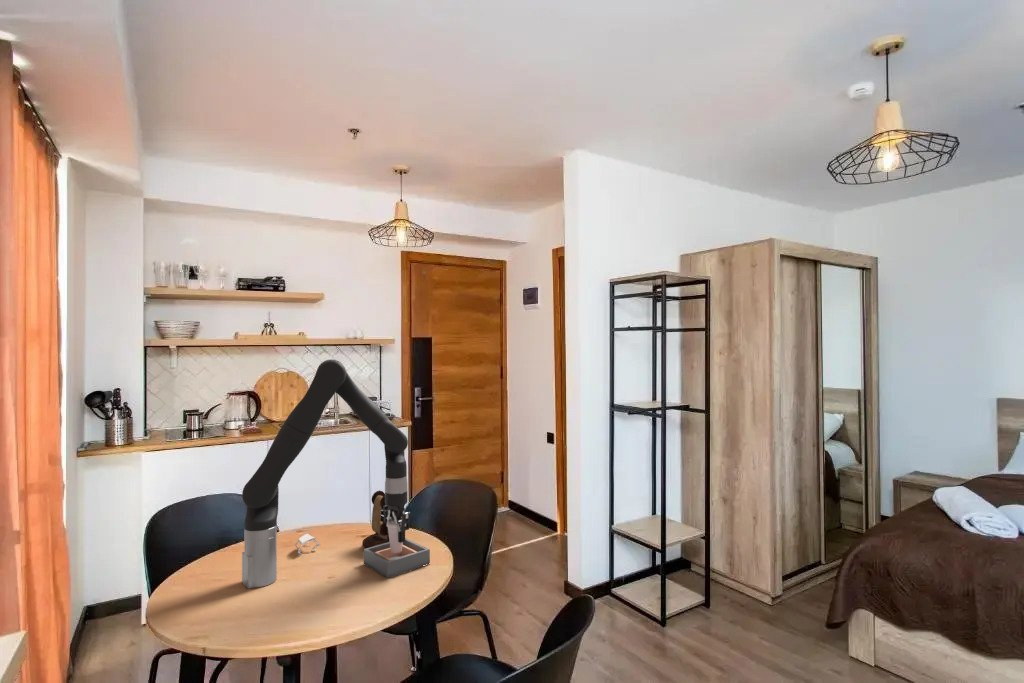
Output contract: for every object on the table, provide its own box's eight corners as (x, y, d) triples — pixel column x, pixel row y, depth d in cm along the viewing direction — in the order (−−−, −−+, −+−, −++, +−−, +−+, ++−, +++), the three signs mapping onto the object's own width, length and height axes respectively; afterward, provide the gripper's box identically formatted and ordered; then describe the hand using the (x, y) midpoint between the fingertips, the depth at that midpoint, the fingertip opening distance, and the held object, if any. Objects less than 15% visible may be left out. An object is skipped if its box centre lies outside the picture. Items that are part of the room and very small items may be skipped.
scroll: (355, 546, 196) (355, 492, 196) (390, 536, 206) (390, 485, 206) (374, 557, 185) (374, 500, 185) (410, 546, 195) (410, 492, 195)
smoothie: (407, 547, 182) (407, 506, 182) (404, 554, 176) (404, 512, 176) (388, 547, 182) (388, 507, 182) (384, 554, 175) (384, 512, 176)
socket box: (387, 578, 167) (387, 562, 167) (363, 564, 179) (363, 549, 179) (429, 564, 178) (429, 549, 178) (404, 551, 190) (404, 537, 190)
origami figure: (321, 554, 189) (321, 540, 189) (296, 558, 185) (296, 544, 185) (317, 543, 199) (317, 530, 200) (293, 547, 196) (293, 533, 196)
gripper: (375, 488, 182) (375, 537, 181) (397, 496, 171) (397, 547, 171) (394, 484, 187) (395, 531, 187) (417, 491, 176) (417, 542, 176)
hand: (396, 539), depth 179 cm, fingers closed on smoothie, 6 cm apart
